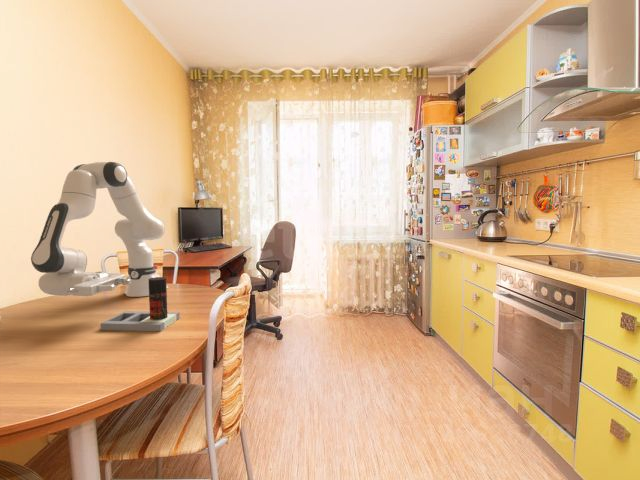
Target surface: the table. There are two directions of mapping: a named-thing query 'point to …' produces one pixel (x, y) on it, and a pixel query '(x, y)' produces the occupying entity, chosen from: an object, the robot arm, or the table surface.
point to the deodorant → (158, 298)
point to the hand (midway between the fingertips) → (121, 284)
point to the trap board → (138, 322)
